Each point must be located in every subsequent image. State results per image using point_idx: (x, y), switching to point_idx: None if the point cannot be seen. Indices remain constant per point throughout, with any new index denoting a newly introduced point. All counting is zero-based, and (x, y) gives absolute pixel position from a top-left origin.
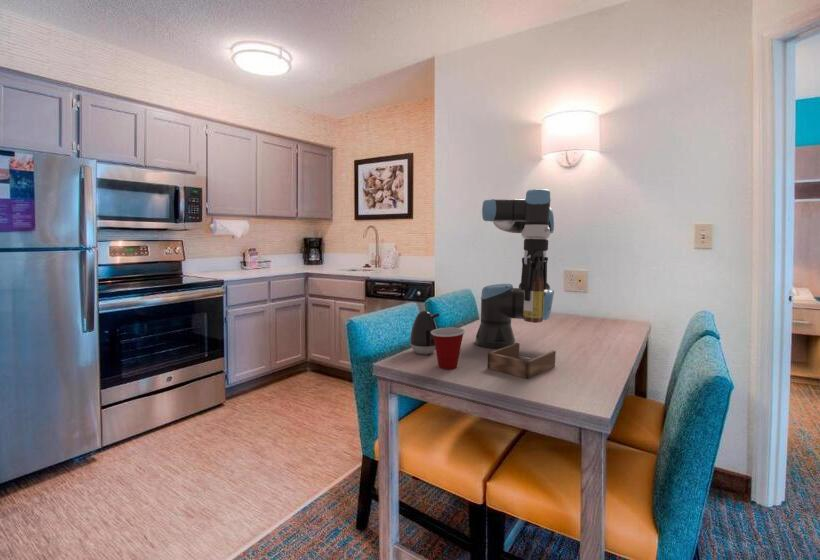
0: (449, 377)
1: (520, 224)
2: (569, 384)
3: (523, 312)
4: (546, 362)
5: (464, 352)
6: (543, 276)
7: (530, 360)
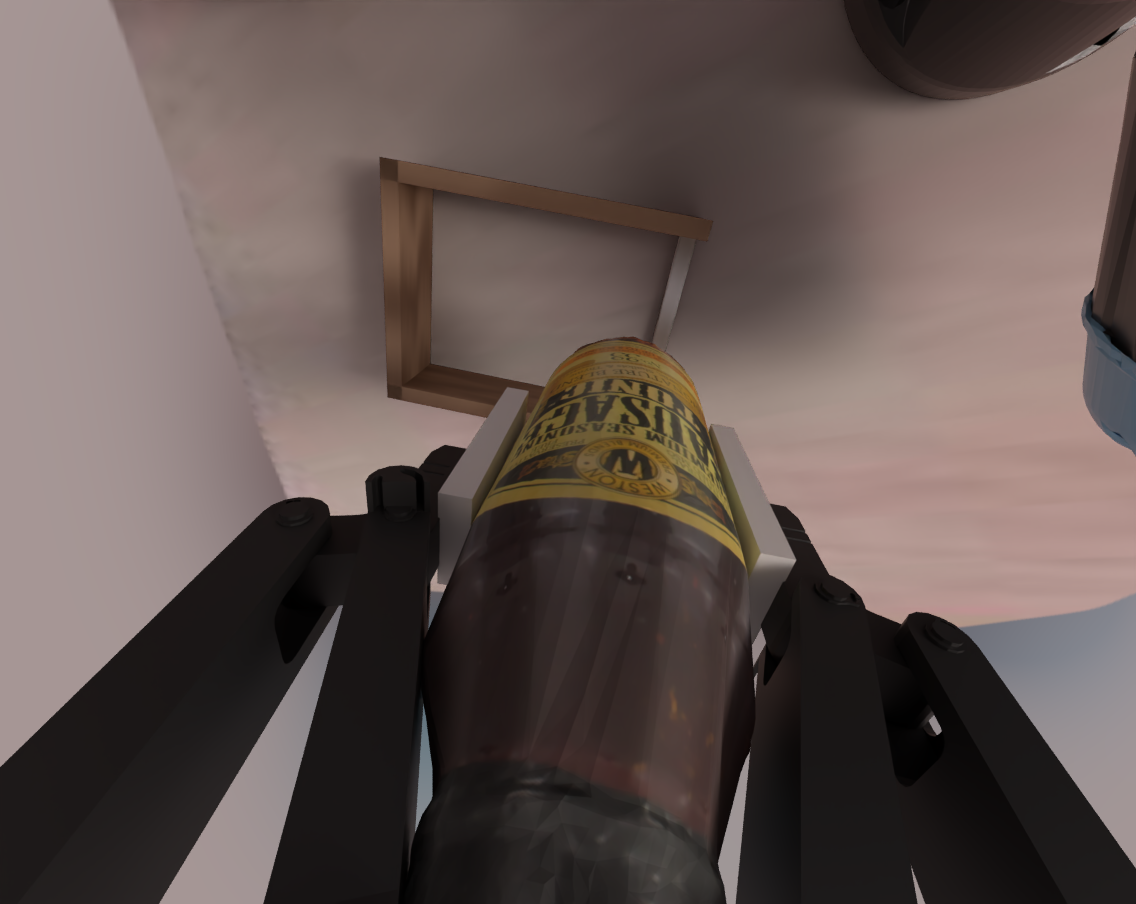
0: (171, 57)
1: None
2: None
3: (578, 356)
4: None
5: None
6: (934, 856)
7: (420, 396)
